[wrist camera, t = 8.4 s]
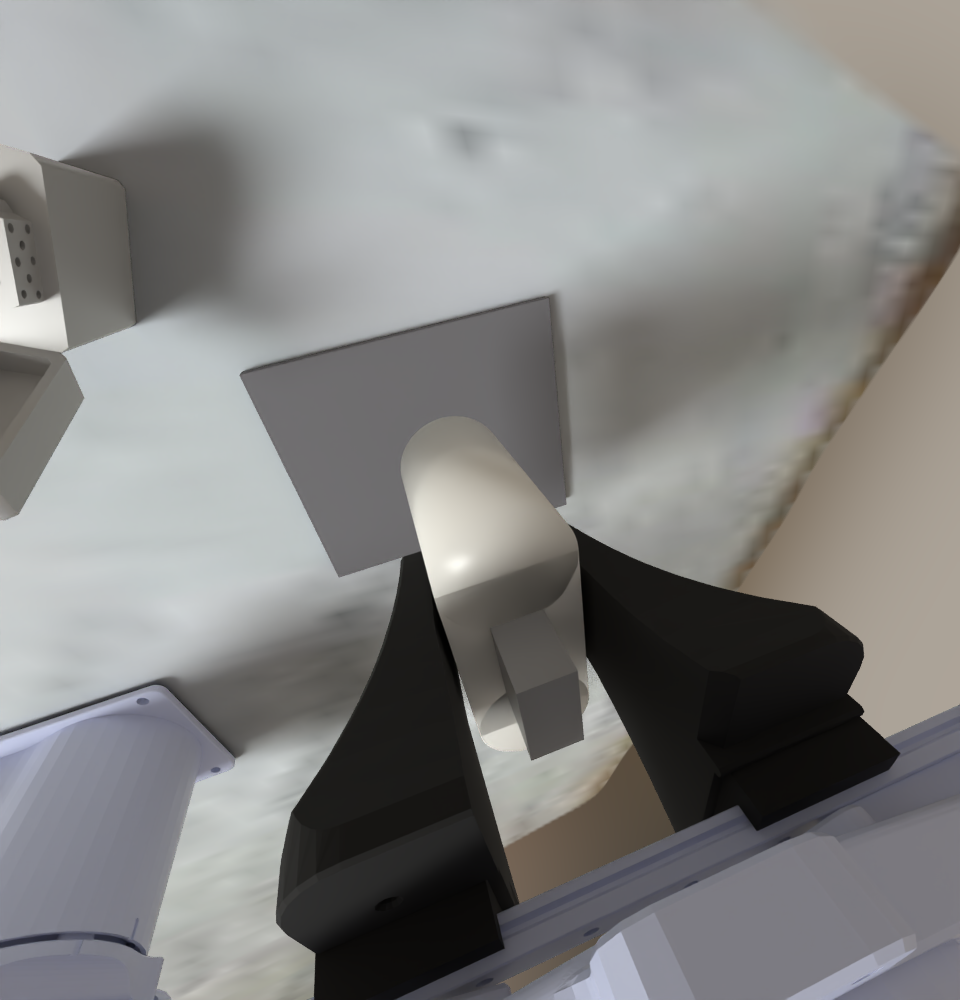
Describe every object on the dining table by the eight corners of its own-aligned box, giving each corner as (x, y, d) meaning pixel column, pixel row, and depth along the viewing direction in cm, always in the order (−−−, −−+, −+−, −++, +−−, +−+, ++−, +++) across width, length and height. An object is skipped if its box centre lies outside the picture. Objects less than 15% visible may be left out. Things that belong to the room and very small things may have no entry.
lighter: (47, 159, 12) (-321, 45, 5) (124, 182, 13) (-118, 105, 6) (83, 404, 15) (-123, 529, 8) (143, 413, 16) (-3, 535, 9)
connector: (451, 629, 16) (509, 831, 10) (387, 433, 11) (429, 601, 6) (526, 603, 16) (622, 784, 11) (492, 403, 12) (623, 536, 6)
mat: (339, 570, 21) (338, 577, 21) (241, 371, 16) (239, 375, 15) (562, 499, 23) (566, 504, 22) (544, 297, 17) (549, 298, 17)
